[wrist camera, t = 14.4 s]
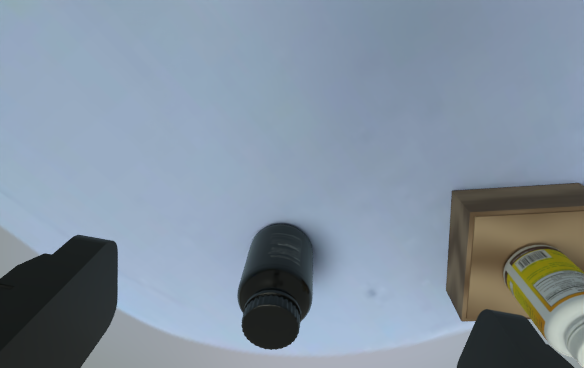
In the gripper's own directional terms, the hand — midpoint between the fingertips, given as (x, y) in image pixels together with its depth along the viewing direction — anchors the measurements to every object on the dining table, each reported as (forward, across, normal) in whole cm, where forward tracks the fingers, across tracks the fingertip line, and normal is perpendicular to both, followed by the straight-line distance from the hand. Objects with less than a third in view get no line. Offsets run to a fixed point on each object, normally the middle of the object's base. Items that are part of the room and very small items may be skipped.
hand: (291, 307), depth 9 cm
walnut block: (+30, -23, +11) cm, 39 cm away
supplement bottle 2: (+25, -23, +11) cm, 36 cm away
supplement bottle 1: (+30, 0, +17) cm, 35 cm away
